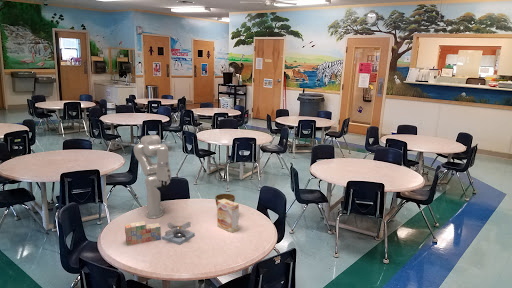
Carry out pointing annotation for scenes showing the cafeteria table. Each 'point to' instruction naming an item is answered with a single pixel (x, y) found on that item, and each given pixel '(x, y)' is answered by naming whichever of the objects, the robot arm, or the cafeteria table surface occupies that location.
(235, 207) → the coffeecake box
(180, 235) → the capstan
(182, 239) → the stand
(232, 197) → the plant pot
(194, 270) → the cafeteria table surface
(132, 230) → the stack of blocks
